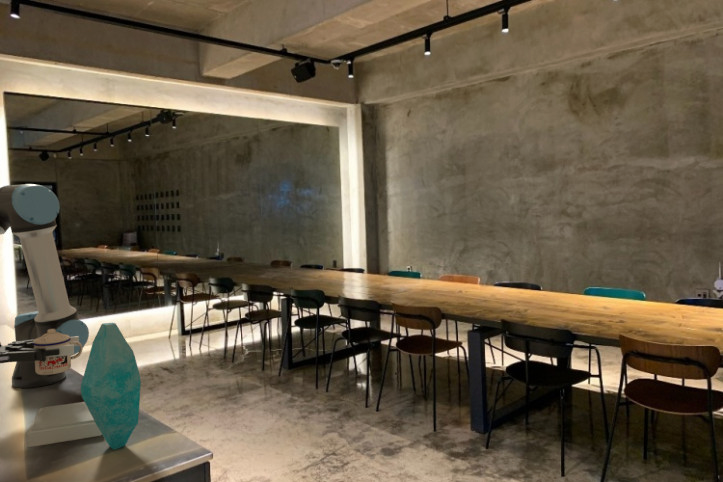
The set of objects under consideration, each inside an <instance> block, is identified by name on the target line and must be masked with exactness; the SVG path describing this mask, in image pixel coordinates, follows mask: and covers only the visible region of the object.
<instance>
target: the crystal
mask: <svg viewBox="0 0 723 482" xmlns="http://www.w3.org/2000/svg"><path fill="white" fill-rule="evenodd" d="M140 375H141V374H140V371H139V367H138V362H137V359H136V356H135V353H134V351H133V349H132V347H131V346H130V344H129V342H127V340H126V338H125V336H124V334H122V331H121V330H120V328H119V327H118V325H117V323H116V322H107V323H101V324H100V326H99V329H98V331H97V333H96V334H95V336H94V339H93V341H92V344H91V347H90V351H89V355H88V359H87V363H86V367H85V370H84V373H83V376H82V379H81V380H82V381H81V384H80V394H81V398H82V400H83V402H85V404H86V405H87V407H88V409H89V411H90V413H91V415H92V417H93V419H94V421H95V423H96V425H97V427H98V429H99V430H100V432H101V433H102V435H101V436H102V437H103V439H104V440H105V441H106V443H107V444H108V447H110V448H111V449H112V450H118V449H120V448H123V447H125V446H126V445H127V444H128V441H129V439H130V437H131V435H132V434H133V431H134V430H135V428H136V427H137V425H138V423H139V416H140V400H141V387H142V386H141V385H142V382H141V376H140Z"/></svg>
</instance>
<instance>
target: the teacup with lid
mask: <svg viewBox="0 0 723 482" xmlns="http://www.w3.org/2000/svg"><path fill="white" fill-rule="evenodd" d="M70 339H71V338H70V336H69V335H65V334H61V333H59V332H56V330H55V329H49V330H48V331H47V333H46V334H44V335H42V336H41V337H39V338H36V339H35V340H34V341H33V345H34V348H44V349H45V350H46V347H53V346H63V345H72V344H77V345H79V346H80V350H79V352H78V353H76V354H74V355H72V356H71V355H66V356H57V357H47V356H46V361H42V360H40V361H35V371H36V373H37V374H40V375H51V374H57V373H61V372H64V371H65V372H67V371H69V370H70V369H71V368H72V360H75V359H77V358H79V357H80V356H81V354H82V353H83V350H84V347H83V346H82V344H81V343H80V342H77V341H74V342H70Z"/></svg>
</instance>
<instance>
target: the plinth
mask: <svg viewBox="0 0 723 482" xmlns="http://www.w3.org/2000/svg"><path fill="white" fill-rule="evenodd" d="M25 435H26V448H31V447H40V446H44V445H51V444H58V443H62V442H69V441H77V440H83V439H88V438H93V437H101V436H103V435H102V433H101V432H100V430H99V429H98V427H97V425H96V423H95V421H94V419H93V417H92V415H91V413H90V411H89V409H88V407H87V405H86V404H85V402H84V401H82V402H74V403H67V404H58V405H51V406H45V407H42V408H39V410H38V412H37V414H36V415H35V417H34V419H33V421H32V422H31V424H30V426H29V428H28V430H27V431H26V434H25Z"/></svg>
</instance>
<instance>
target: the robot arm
mask: <svg viewBox="0 0 723 482" xmlns="http://www.w3.org/2000/svg"><path fill="white" fill-rule="evenodd" d="M59 213H60V201H59V198H58V196H57V195H56V193H54V192H53V191H52V190H51V189H49V188H48V187H46V186H44V185H40V184H34V183H25V184H8V185H3V186H2V187H0V235H4V234H6V233H7V231H8V230H9V228H10V229H11V233H12V234H13V235H15V236H16V237H17V238H19V241H20V246H21V250H22V252H23V256H24V261H25V264H26V268H27V272H28V276H29V279H30V285H31V288H32V292H33V296H34V299H35V304H36V307H37V311H36V310H35V311H30V312H25V313H21V314H18V315H16V316H15V317H14V326H13V328H14V338H15V340H14V341H12V342H10V343H9V342H8V343H7V345H5V344H4V345H2V343H1V342H0V364H5V363H15V366H14V368H13V372H12V374H11V385H12V386H13V387H14V388H20V389H31V388H37V387H43V386H48V385H53V384H55V383H57V382H59V381H62V380H63V379H65V378H66V371H64V372H61V373H57V374H51V375H40V374H37V373H36V371H35V361H40V360H42V361H46V356H47V357H57V356H66V355H71V357H72V356H75V355H77V354H78V352H79V350H80V346H79V345H77V344H72V345H63V346H53V347H46V350H45V349H44V348H34V345H33V341H34V340H35V339H36V338H39V337H41V336H42V335H44V334H46V333H47V331H48V330H49V329H55V330H56V332H59V333H61V334H65V335H69V336H70V338H71V339H70V342H74V341H77V342H80V343H81V344H82V346H83V348H85V345H86V344H87V343H88V340H89V338H90V337H89V336H90V332H89V327H88V326H87V324H86V323H85V322H84V321H82V320H81V319H79V315H78V310H77V309H76V307H74V306H72V305H71V303H70V301H69V298H68V297H69V296H68V292H67V288H66V284H65V279H64V275H63V272H62V268H61V262H60V259H59V254H58V250H57V247H56V242H55V238H54V234H53V233H54V232H53V231H54V230H55V229H56V227H57V226H58V225H57V223H56V222H57V221H56V218H57V216H58V214H59Z"/></svg>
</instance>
